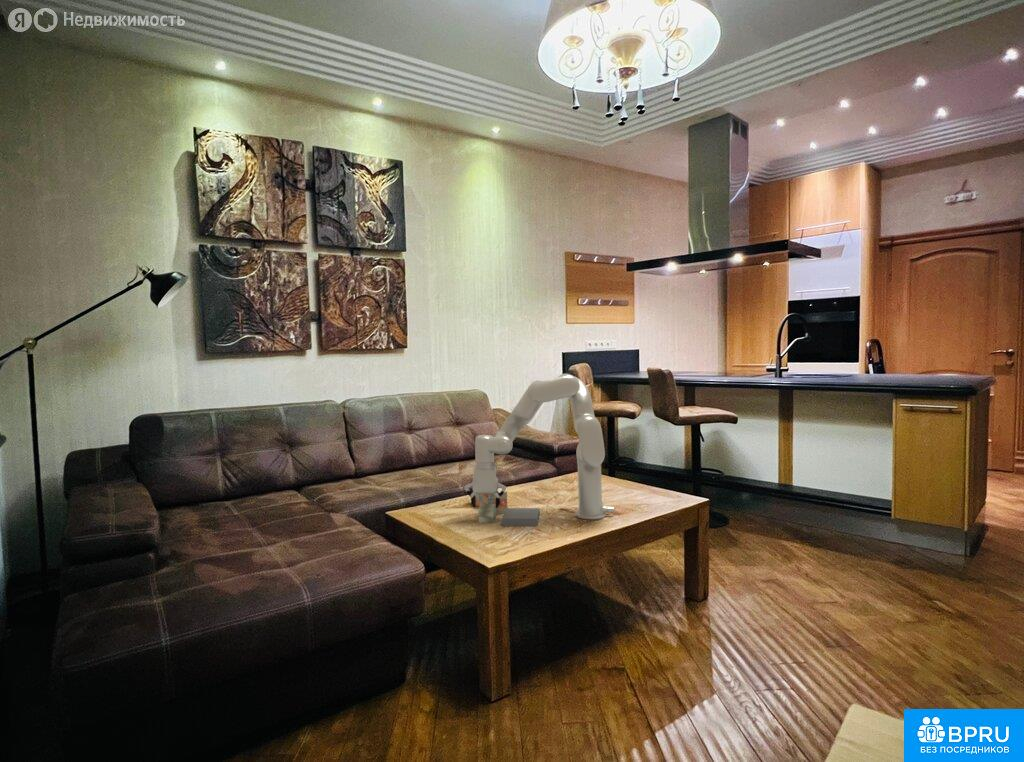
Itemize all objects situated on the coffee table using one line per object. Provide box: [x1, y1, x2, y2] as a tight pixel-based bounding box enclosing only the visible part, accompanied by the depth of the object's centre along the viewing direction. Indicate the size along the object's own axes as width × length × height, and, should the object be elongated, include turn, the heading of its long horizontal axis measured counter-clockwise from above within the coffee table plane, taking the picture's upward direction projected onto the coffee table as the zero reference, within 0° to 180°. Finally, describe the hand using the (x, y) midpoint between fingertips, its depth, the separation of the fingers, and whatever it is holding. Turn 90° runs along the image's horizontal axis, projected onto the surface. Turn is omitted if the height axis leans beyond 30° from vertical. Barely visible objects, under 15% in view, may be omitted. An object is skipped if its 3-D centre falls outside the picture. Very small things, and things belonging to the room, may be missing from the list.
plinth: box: [501, 507, 541, 527], centre depth 222 cm, size 14×14×3 cm
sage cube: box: [477, 504, 497, 524], centre depth 224 cm, size 6×6×6 cm
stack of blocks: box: [475, 487, 508, 515], centre depth 242 cm, size 21×6×12 cm, turn 29°
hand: (485, 506), depth 224 cm, fingers open, 9 cm apart
